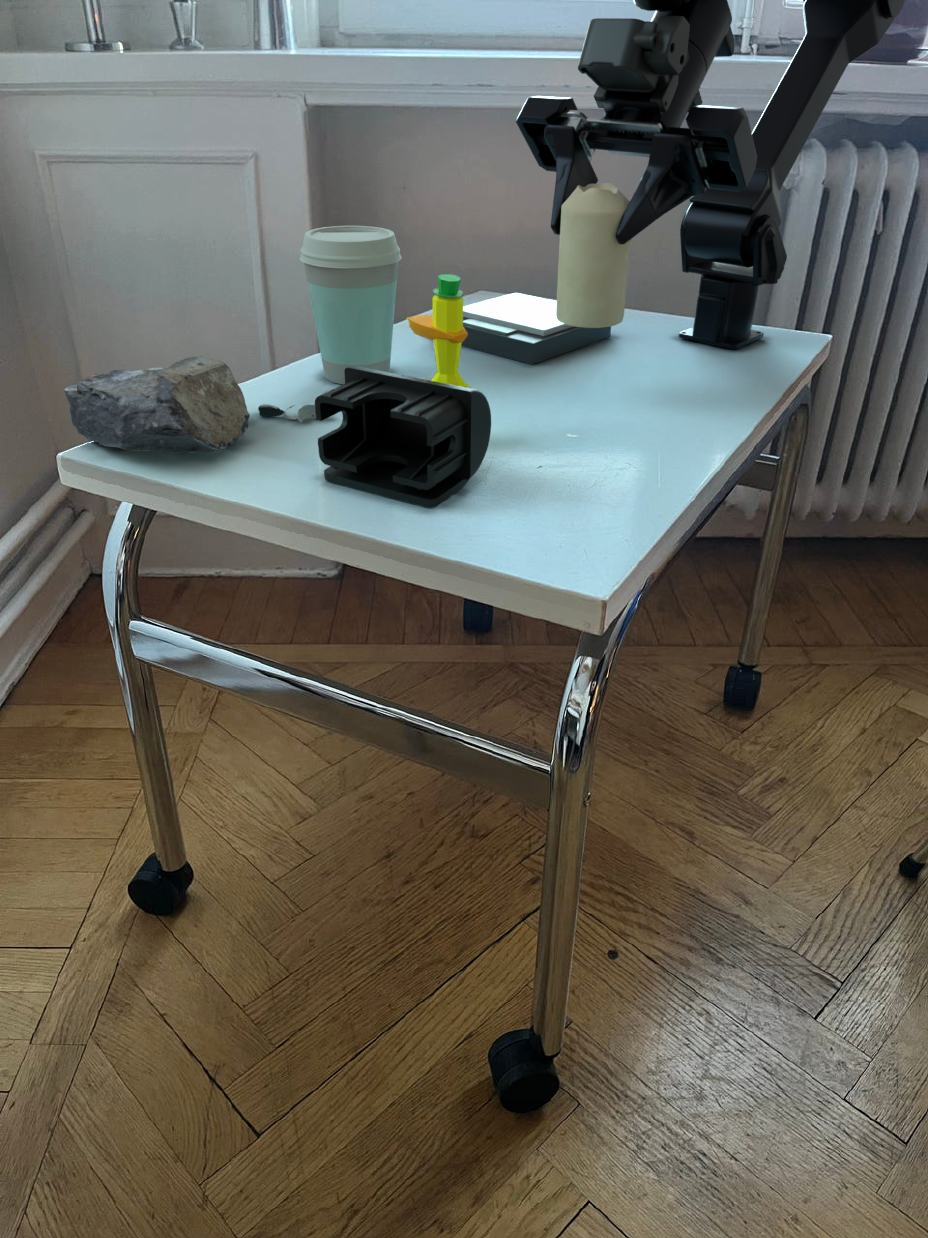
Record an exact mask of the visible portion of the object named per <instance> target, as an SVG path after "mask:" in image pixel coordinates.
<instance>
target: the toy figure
mask: <svg viewBox="0 0 928 1238" xmlns="http://www.w3.org/2000/svg"><path fill="white" fill-rule="evenodd" d="M461 281H462V278H461V277H460V276H459V275H456V274H451V273H444V274H443V273H442V274H440V275H438V276H437V285H438V287H435V288H433V289H432V294H434V295H433V296H432V314H420V315H412V316H409V317H406V320H408V325H409V328H410V329H411V331H412V333H413V334H414V335H417V336H419V337H421V338H424V339H427V340H430V341H433V348H434V355H435V363H436V369H437V370H436V373H435V374H434V375H433V377H432V379H431V380H430V381H435V382H440V383H445V384H450V385H455V386H460V387H466V388H471V389H473V388H472V387H471V386H470V385H469V384H468V383H466V381H465V380H464V379H463V378H462V376H461V374H460V372H459V366H460V358H461V351H462V346H461V344H462V342H463V341H464V340H465V339H466V337H467V336H468V333H467V331H466V330H465V328H464V326H463V306H464V297H463V296H464V292H463V291H462V290H461V289H459V288H460V285H461Z"/></svg>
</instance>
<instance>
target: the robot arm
mask: <svg viewBox="0 0 928 1238" xmlns="http://www.w3.org/2000/svg"><path fill="white" fill-rule="evenodd" d="M632 1H633V3H634V5H635V6H636V7H637V8H639V9H640V10H642V11H643V10H644V11H647V12H654V14H653V16H652V18H651V20H650V21H648V20H647V21H645V20H643V19H638V18H627V17H625V18H618V17H617V18H616V17H615V18H614V17H613V18H611V17H610V18H607V17H606V18H604V17H603V18H602V17H601V18H600V17H599V18H597V17H596V18H591V20H589V23H588V26H587V27H588V28H587V31H586V34H585V39H584V42H583V46H582V49H581V52H580V57H579V61H578V65H577V70H578V71H579V73H580V74H581V75H583V74H584V75H586V76H587V77H588V78H589V79H590V80H591V81H592V82H594V84H595V85H596V86H597V88H596V90H595V92H594V94H593V98H594V101H595V103H596V105H597V108H598V109H603V110H604V112H605V113H604V115H603V117H599V118H598V117H588V116H587V115H586V114H585V113H583V112H582V111H580V110H579V109H578V106H577V104H576V103H575V100H574V98H573V97H562V96H544V95H533V96H528V97H527V99H526V101H525V102H524V104H523V106H522V107H521V110H520V112H519V114H518V116H517V117H516V120H515V123H516V125H517V127H518V129H519V130H520V133H521V135H522V137H523V138H524V140H525V142H526V144H527V146H528V148H529V150H530V151H531V154H532V156H533V158H534V159H535V161H536V163H537V165H538V166H539V167H540V168H542V169H543V170H545V171H546V172H552V173H555V183H554V194H553V200H552V201H553V202H552V209H551V219H550V229H551V231H552V232H553V234H554V235H557V236H560V226H561V207H562V204H563V203H564V202H565V201H566V200H567V199H568V198H569V196H570V195H571V194H572V193H573V192H574V190H575V189H576V188H577V186H578V185H580V186H582V187H585V186H587V185H588V184H598V182H599V178H598V177H597V174H596V172H595V169H594V167H593V165H592V163H591V162H592V159H593V156H594V155H595V153H596V150H598V151H599V150H600V151H608V153H609V154H611V155H618V156H628V157H629V156H630V157H639V158H648V163H647V166H646V170H645V171H644V173H643V174H642V177H641V178H640V181H639V183H638V185H637V186H636V188H635V191H634V192H633V194H632V196H631V198H630V200H629V201H630V202H629V204H628V206H627V208H626V210H625V212H624V214H623V216H622V219H621V221H620V224H619V227H618V229H617V232H616V239H617V241H618V243H619V244H622V245H624V244H625V243H627V242H628V241H629V240H631V241H632V239H633V238H635V237H636V236H637V235H639V234H640V233H641V232H642V231H644V230H645V229H647V228H648V227H649V226H651V225H652V224H653V223H654V222H656V221H657V220H658V219H660V218H661V217H662V216H664V215H665V214H668V212H670V211H671V210H673V209H675V208H676V207H678V206H679V205H681V204H682V203H684V202H686V201H688V200H689V203H691V204H690V205H689V207H688V208H687V210H686V211H685V213H684V215H683V217H682V220H681V223H680V229H679V232H680V233H679V234H680V235H679V236H680V255H681V272H682V273H687V274H689V273H690V274H691V273H692V274H698V275H701V276H700V281H699V288H698V294H697V299H696V307H695V313H694V321H693V326H692V327H690V328H687V329H684V330H682V331H679V333H678V338H679V339H684V340H689V341H693V342H698V343H701V344H702V343H703V344H706V345H711V346H717V347H721V348H726V349H730V350H737V349H739V348H742V347H744V346H746V345H748V344H751V343H753V342H755V341H758V340H760V339H763V337H764V334H765V333H764V332H763V331H760V330H755V329H752V326H753V322H754V316H755V311H756V304H757V299H758V292H759V288H760V286H763V285H776V284H778V281H779V280H780V279H781V277H782V275H783V272H784V270H785V266H786V262H787V259H788V253H787V251H786V248H785V247H786V246H785V244H784V241H783V238H782V235H781V230H780V226H781V224H782V221H783V220H782V219H783V217H782V207H781V197H780V191H781V189H782V187H783V185H784V183H785V181H786V179H787V177H788V175H789V174H790V172H791V170H792V168H793V166H794V165H795V163H796V161H797V159H798V157H799V155H801V152H802V150H803V148H804V146H805V145H806V142H807V141H808V139H809V137H810V135H811V134H812V131H813V130H814V128H815V126H816V125H817V122H818V120H819V118H820V117H821V115H822V113H823V111H824V109H825V108H826V106H827V104H828V102H829V100H830V98H831V97H832V95H833V93H834V91H835V89H836V87H837V85H838V84H839V82H840V80H841V78H842V76H843V74H844V73H845V71H846V69H847V67H848V65H849V64H850V63H852V62H854V61H855V60H857V59H858V58H860V57H861V56H862V55H864V54H865V53H867V52H869V51H870V50H872V49H873V48H875V47H876V46H877V45H878V44H879V43H880V42H881V40H882V38H883V37H884V36H885V34H886V33H887V31H888V30H889V29H890V27H891V26H892V24H893V22H895V19H896V18H897V17H898V16H899V15H900V13H901V11H902V10H903V8H904V6H905V5H904V4H905V2H906V0H802V2H803V5H802V14H803V25H804V32H805V35H804V37H803V39H802V41H801V43H800V44H799V46H798V48H797V50H796V51H795V54H794V56H793V58H792V59H791V61H790V63H789V65H788V66H787V67H786V68H787V69H786V70H785V72H784V74H783V76H782V77H781V79H780V81H779V83H778V85H777V87H776V89H775V91H774V92H773V93H772V96H771V98H770V100H769V101H768V103H767V105H766V107H765V109H764V111H763V112H762V114H761V116H760V118H759V120H758V122H757V123H756V124H755V126H754V128H753V130H752V128H751V125H750V120H749V116H748V115H747V113H746V111H745V108H744V107H736V106H719V105H703V98H702V95H701V92H700V88H701V86H702V85H703V82H704V80H705V78H706V76H707V74H708V72H709V70H710V68H711V65H712V64H713V61H715V58H725V57H726V58H727V57H729V58H730V57H732V56H733V55H734V53H735V43H736V40H735V36H734V33H733V29H732V26H731V25H732V23H733V16H732V15H733V14H732V12H731V8H730V4H729V2H728V1H729V0H632ZM684 122H685V123H686V125H687V127H682V125H683V123H684Z"/></svg>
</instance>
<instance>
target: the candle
mask: <svg viewBox="0 0 928 1238" xmlns="http://www.w3.org/2000/svg"><path fill="white" fill-rule="evenodd" d="M629 202H630V200H629V198H628V197H627V196H626V195H625V193H623V192H622V191H621V190H620V189H619V188H617V187H616V186H615V185H613V184H612V183H611V182H604V183H596V184H588V185H587V186H585V187H582V186H580V185H578V186H577V188H576V189H575V190H574V192H573V193H572V194H571V195H570V196H569V198H568V199H567V200H566V201H565V202H564V203H563V204H562V207H561V226H560V235H559V244H558V245H559V247H558V248H559V249H558V265H557V286H556V287H557V288H556V301H557V303H556V317H557V320H558V321H560V322H561V323H564V324H567V325H570V326H575V327H584V328H602V327H610V326H611V327H614V326H617V325H619V324H621V323H622V322H623V320H624V316H625V309H626V299H627V286H628V277H629V276H628V275H629V266H630V255H631V246H632V245H631V244H632V239H631V240H629V241H628V242H627V243H625V244H624V245H622V244H619V243H618V241H617V239H616V232H617V229H618V227H619V224H620V221H621V219H622V216H623V214H624V212H625V210H626V208H627V206H628V204H629Z"/></svg>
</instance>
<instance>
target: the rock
mask: <svg viewBox="0 0 928 1238" xmlns="http://www.w3.org/2000/svg"><path fill="white" fill-rule="evenodd" d="M63 392H64V394H65V397H66V399H67V401H68V404H69V405H70V406H69V413H70V418H71V424H72V425H73V426H74V427H75V429H76V430H77V434H79V435H81V436H83V437H85V438H86V439H87V440H88V441H90V442H94V443H98V444H99V445H100V446H104V447H109V448H117V449H118V448H119V449H121V450H125V451H132V452H133V451H134V452H136V451H137V452H140V451H141V452H143V451H150V452H156V453H162V454H164V453H165V454H166V453H177V454H178V455H186V454H196V453H213V452H214V453H215V452H220V451H221V452H222V451H224V450H227V449H228V448H230V447H231V446H232V445H233V444H234V443H235V441H236V440H237V439H239V438H241V437H245V433H246V431H247V429H248V428H249V423H250V422H249V419H250V417H251V414H250V413H249V411H248V407H247V404H246V399H245V395H244V393H243V391H242V389H241V387H240V385H239V383H238V382H237V381H236V379H235V376H234V374H233V371H232V370H231V368H230V366H229V365H228V364H227V363H226V362H224V361H222V360H219V359H214V358H211V357H207V356H203V355H200V356H190V357H187V358H183V359H181V360H178V361H175V362H174V363H172V364H170V365H169V366H167V367H149V368H143V369H138V370H131V369H125V370H124V369H114V370H109V371H103V372H102V371H101V372H99V373H95V374H92V375H90V376H87V377H83V378H82V379H80V380H79V381H77V382H75V383H73V384H72V385H68V386H67V387H65V388H63Z"/></svg>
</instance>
